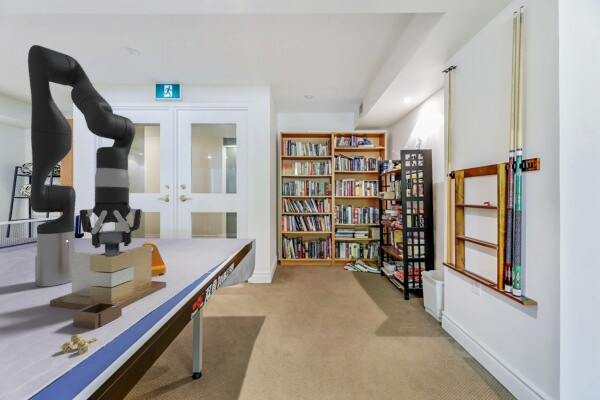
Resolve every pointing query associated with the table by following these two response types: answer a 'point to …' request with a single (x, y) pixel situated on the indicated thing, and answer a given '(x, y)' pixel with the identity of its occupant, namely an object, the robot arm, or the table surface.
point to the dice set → (80, 343)
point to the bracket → (156, 261)
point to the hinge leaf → (95, 274)
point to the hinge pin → (111, 241)
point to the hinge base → (112, 288)
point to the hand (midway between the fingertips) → (112, 246)
